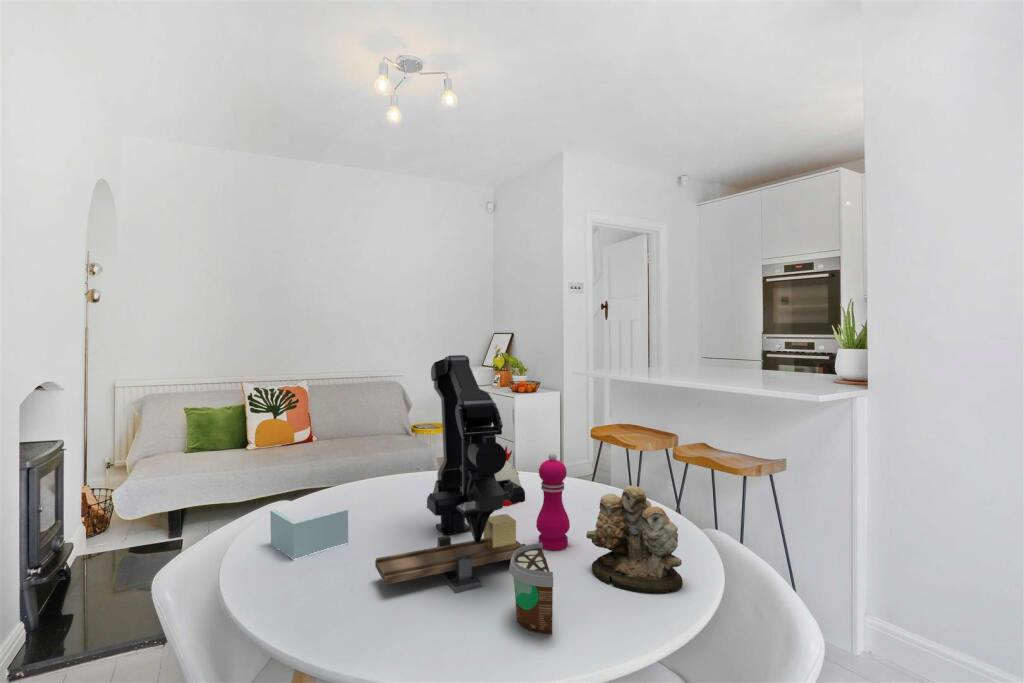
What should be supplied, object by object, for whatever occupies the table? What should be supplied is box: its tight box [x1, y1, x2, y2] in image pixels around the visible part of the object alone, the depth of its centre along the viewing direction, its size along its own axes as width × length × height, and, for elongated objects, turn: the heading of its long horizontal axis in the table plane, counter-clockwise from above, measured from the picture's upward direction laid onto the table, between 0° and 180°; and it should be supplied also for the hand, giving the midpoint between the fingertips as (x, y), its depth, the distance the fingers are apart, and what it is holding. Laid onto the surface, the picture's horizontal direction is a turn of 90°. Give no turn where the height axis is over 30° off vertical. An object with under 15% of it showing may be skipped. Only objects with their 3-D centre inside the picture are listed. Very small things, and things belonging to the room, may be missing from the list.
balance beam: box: [374, 538, 527, 585], centre depth 102 cm, size 28×8×2 cm, turn 117°
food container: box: [508, 542, 554, 635], centre depth 86 cm, size 12×6×10 cm, turn 5°
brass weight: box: [483, 513, 517, 550], centre depth 106 cm, size 5×4×6 cm
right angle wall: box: [269, 508, 349, 559], centre depth 117 cm, size 12×12×8 cm
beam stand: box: [436, 535, 511, 594], centre depth 105 cm, size 16×15×5 cm
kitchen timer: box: [495, 445, 522, 507], centre depth 148 cm, size 14×14×15 cm
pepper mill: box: [535, 452, 571, 551], centre depth 116 cm, size 7×7×20 cm
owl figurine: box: [585, 484, 684, 595], centre depth 100 cm, size 18×12×17 cm, turn 63°
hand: (477, 541), depth 105 cm, fingers closed
